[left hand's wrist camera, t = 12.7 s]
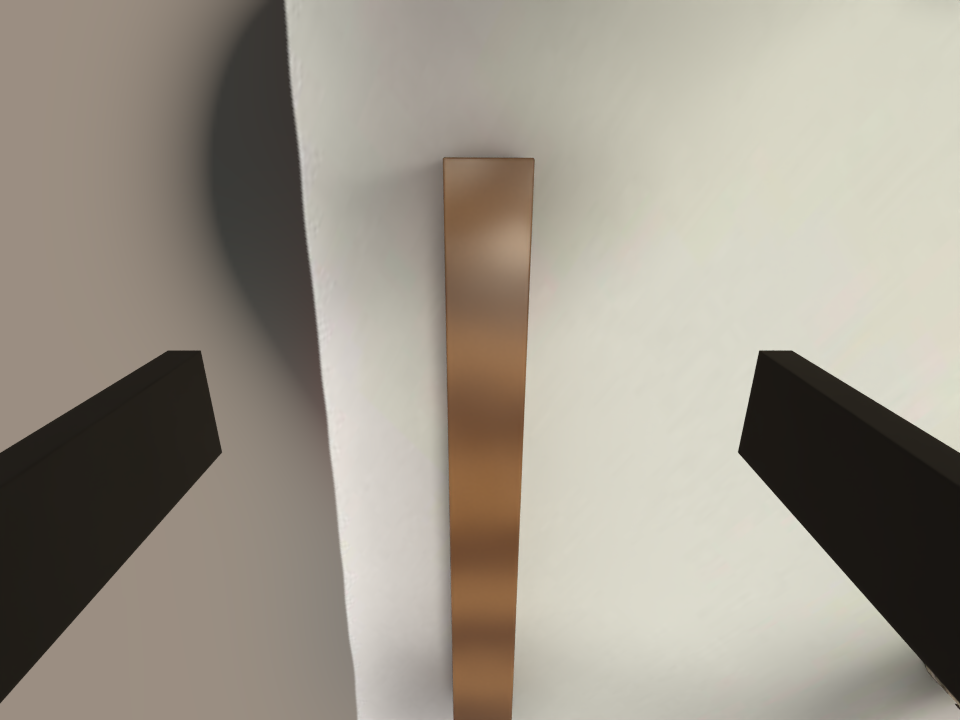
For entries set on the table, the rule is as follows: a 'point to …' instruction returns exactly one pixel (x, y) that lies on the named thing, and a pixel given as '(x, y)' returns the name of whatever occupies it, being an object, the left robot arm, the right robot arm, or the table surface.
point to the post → (485, 417)
